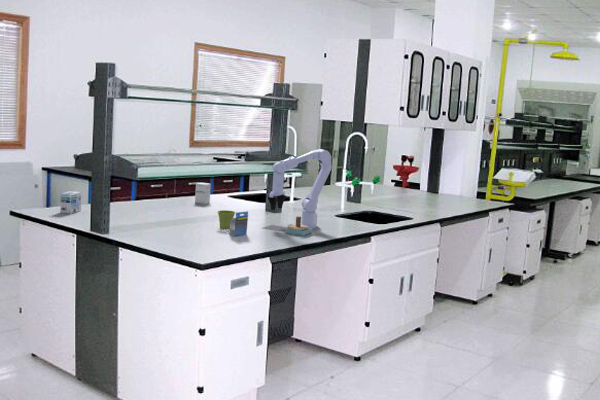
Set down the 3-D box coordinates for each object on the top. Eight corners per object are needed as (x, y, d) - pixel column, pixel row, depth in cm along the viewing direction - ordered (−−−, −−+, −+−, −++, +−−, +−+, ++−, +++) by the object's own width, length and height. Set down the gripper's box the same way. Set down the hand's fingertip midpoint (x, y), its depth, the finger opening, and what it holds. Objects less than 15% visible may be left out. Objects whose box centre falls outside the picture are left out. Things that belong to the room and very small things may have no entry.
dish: (294, 230, 349) (295, 225, 349) (311, 233, 345) (311, 228, 345) (286, 233, 340) (286, 228, 340) (303, 236, 336) (303, 231, 336)
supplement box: (194, 202, 414) (195, 183, 412) (199, 201, 421) (200, 182, 419) (205, 204, 412) (206, 184, 410) (210, 202, 419) (211, 183, 417)
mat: (272, 225, 360) (272, 224, 360) (291, 228, 355) (291, 228, 355) (261, 228, 349) (261, 228, 349) (281, 232, 344) (281, 231, 344)
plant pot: (222, 230, 338) (223, 214, 337) (213, 226, 346) (214, 210, 344) (237, 229, 344) (238, 213, 342) (228, 225, 351) (229, 209, 350)
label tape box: (241, 233, 335) (242, 209, 333) (247, 234, 332) (248, 211, 330) (229, 235, 328) (230, 211, 326) (234, 236, 325) (236, 212, 323)
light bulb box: (71, 214, 353) (71, 194, 351) (59, 212, 354) (60, 193, 353) (81, 210, 364) (81, 191, 362) (70, 209, 365) (70, 190, 363)
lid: (293, 225, 350) (294, 214, 349) (311, 228, 345) (312, 217, 344) (283, 228, 340) (284, 216, 339) (302, 231, 335) (303, 219, 334)
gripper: (277, 182, 361) (276, 206, 363) (265, 184, 348) (263, 209, 350) (289, 183, 358) (287, 208, 360) (276, 186, 345) (275, 211, 347)
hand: (276, 209), depth 355 cm, fingers open, 7 cm apart
